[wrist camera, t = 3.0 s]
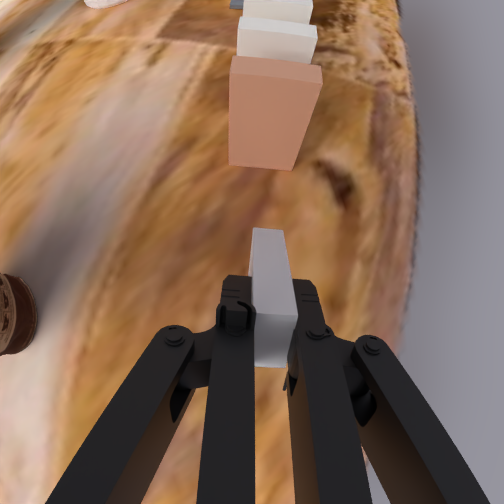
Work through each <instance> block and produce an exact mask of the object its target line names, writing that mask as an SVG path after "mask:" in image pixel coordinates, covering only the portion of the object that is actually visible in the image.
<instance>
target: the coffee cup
mask: <svg viewBox="0 0 504 504" xmlns="http://www.w3.org/2000/svg"><path fill="white" fill-rule="evenodd" d="M36 323H37V313H36V305H35V301H34V298H33V295H32V293H31V291H30V288H29V286H28V285H26V284H25V282H24V281H23V280H22V278H20V277H14V276H10V275H8V274H1V273H0V356H2V355H5V354H16V353H19V352H20V351H22V350H23V349H25V348H26V347H27V346H28V345H29V344H30V342H31V340H32V338H33V335H34V332H35V327H36Z"/></svg>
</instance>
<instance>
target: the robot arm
mask: <svg viewBox="0 0 504 504" xmlns="http://www.w3.org/2000/svg"><path fill="white" fill-rule="evenodd" d="M287 361H288V372H287V375H286V379H285V383H284V386H283V390H284V391H286V387H287V396H288V408H289V421H290V434H291V447H292V461H293V475H294V490H295V504H372V498H371V493H370V488H369V482H368V477H367V472H366V467H365V462H364V457H363V452H362V447H363V449H364V451H365V453H366V455H367V457H368V459H369V461H370V463H371V465H372V467H373V469H374V471H375V473H376V475H377V477H378V479H379V481H380V483H381V485H382V487H383V489H384V491H385V492H386V495H387V497H388V499H389V501H390V503H391V504H490V502H489V501H488V499H487V497H486V495H485V494H484V492H483V490H482V488H481V487H480V485H479V483H478V482H477V480H476V478H475V477H474V475H473V473H472V472H471V470H470V468H469V467H468V465H467V464H466V462H465V460H464V459H463V457H462V455H461V454H460V452H459V451H458V449H457V447H456V446H455V444H454V443H453V441H452V439H451V438H450V436H449V435H448V433H447V432H446V430H445V429H444V427H443V426H442V424H441V423H440V421H439V419H438V418H437V416H436V415H435V413H434V412H433V410H432V409H431V407H430V406H429V404H428V403H427V401H426V400H425V398H424V397H423V395H422V394H421V392H420V391H419V389H418V388H417V386H416V385H415V384H414V382H413V381H412V379H411V378H410V376H409V375H408V374H407V372H406V371H405V369H404V368H403V366H402V365H401V363H400V362H399V361H398V359H397V358H396V356H395V355H394V353H393V352H392V351H391V349H390V348H389V346H388V345H387V344H386V343H385V342H384V341H383V340H382V339H380V338H378V337H376V336H372V335H363V336H361V337H359V338H358V339H357V340H356V342H351V341H347V340H343V339H341V338H338V337H336V336H335V335H334V333H333V331H332V329H331V328H330V327H329V326H327V325H326V324H325V320H324V316H323V312H322V309H321V305H320V303H319V297H318V294H317V290H316V287H315V286H314V285H313V284H312V282H311V281H310V280H302V279H292V277H291V272H290V266H289V260H288V255H287V250H286V244H285V239H284V234H283V230H276V229H265V228H253V235H252V245H251V254H250V264H249V276H238V275H228V276H227V277H226V278H225V280H224V281H223V285H222V292H221V300H220V304H218V306H217V309H216V325H215V326H214V327H213V328H211V329H210V330H207V331H205V332H201V333H194V334H193V333H192V332H191V331H190V330H189V329H188V328H186V327H183V326H179V325H171V326H166V327H164V328H162V329H160V330H159V331H158V332H157V333H156V335H155V336H154V338H153V339H152V341H151V342H150V343H149V345H148V346H147V348H146V349H145V351H144V352H143V354H142V355H141V357H140V358H139V359H138V361H137V362H136V364H135V365H134V367H133V368H132V370H131V371H130V373H129V374H128V376H127V377H126V379H125V380H124V382H123V383H122V384H121V386H120V387H119V389H118V390H117V392H116V393H115V395H114V396H113V398H112V399H111V401H110V402H109V404H108V405H107V407H106V408H105V410H104V411H103V413H102V415H101V416H100V418H99V419H98V421H97V422H96V424H95V425H94V427H93V428H92V430H91V431H90V433H89V434H88V436H87V438H86V439H85V441H84V442H83V444H82V445H81V447H80V448H79V450H78V452H77V453H76V455H75V456H74V458H73V459H72V461H71V463H70V464H69V466H68V467H67V469H66V470H65V472H64V474H63V475H62V477H61V478H60V480H59V482H58V483H57V485H56V486H55V488H54V490H53V491H52V493H51V495H50V496H49V498H48V500H47V501H46V503H45V504H141V502H142V500H143V498H144V496H145V494H146V492H147V490H148V487H149V485H150V483H151V481H152V479H153V477H154V475H155V473H156V471H157V469H158V467H159V465H160V463H161V461H162V459H163V457H164V455H165V452H166V450H167V448H168V446H169V444H170V442H171V440H172V438H173V436H174V434H175V432H176V430H177V428H178V426H179V424H180V421H181V419H182V417H183V415H184V413H185V411H186V409H187V407H188V405H189V403H190V401H191V399H192V396H193V394H194V392H195V390H196V388H200V387H206V386H208V395H207V404H206V413H205V422H204V431H203V440H202V450H201V460H200V470H199V481H198V491H197V502H196V504H255V372H254V367H274V368H285V367H286V363H287ZM361 445H362V447H361Z"/></svg>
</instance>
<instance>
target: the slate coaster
mask: <svg viewBox="0 0 504 504" xmlns="http://www.w3.org/2000/svg"><path fill="white" fill-rule="evenodd" d="M243 5H244V0H231V2H230V8H231V9H243Z"/></svg>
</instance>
